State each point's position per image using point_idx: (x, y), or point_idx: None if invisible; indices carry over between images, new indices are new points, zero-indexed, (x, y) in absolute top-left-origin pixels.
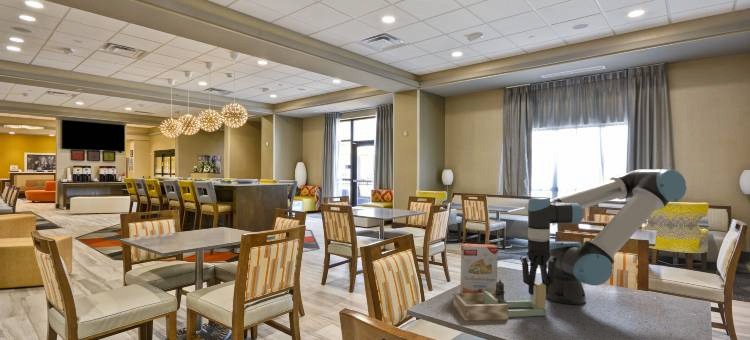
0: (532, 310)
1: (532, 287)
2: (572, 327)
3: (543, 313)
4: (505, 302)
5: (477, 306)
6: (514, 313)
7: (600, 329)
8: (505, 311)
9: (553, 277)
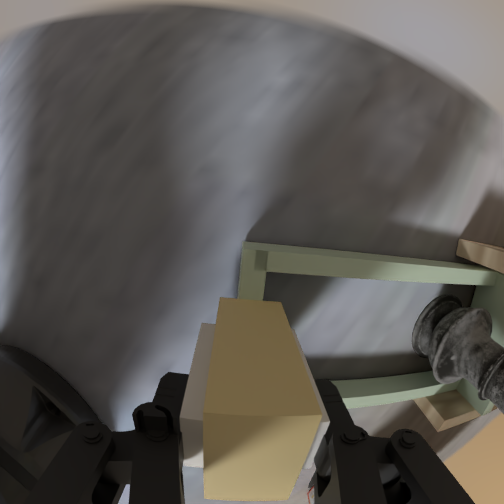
0: (349, 258)
1: (331, 424)
2: (203, 62)
3: (266, 245)
4: (461, 334)
5: None
6: (435, 263)
7: (87, 43)
8: (492, 247)
9: (48, 472)
